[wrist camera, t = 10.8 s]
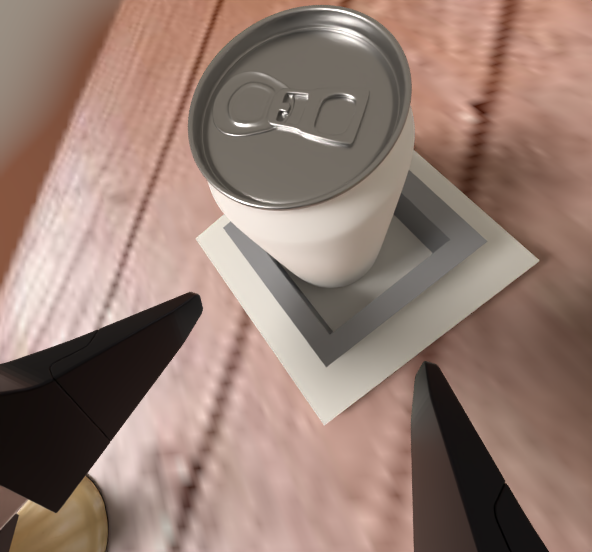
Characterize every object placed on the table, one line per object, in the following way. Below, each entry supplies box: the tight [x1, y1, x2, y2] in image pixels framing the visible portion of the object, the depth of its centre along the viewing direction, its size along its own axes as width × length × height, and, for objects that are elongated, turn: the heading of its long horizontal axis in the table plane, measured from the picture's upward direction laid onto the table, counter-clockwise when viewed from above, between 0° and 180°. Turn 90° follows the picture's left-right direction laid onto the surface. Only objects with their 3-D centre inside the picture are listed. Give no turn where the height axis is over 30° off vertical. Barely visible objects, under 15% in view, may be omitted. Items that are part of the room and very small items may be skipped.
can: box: [188, 5, 415, 288], centre depth 12 cm, size 6×6×12 cm
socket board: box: [196, 150, 540, 425], centre depth 17 cm, size 16×16×4 cm
